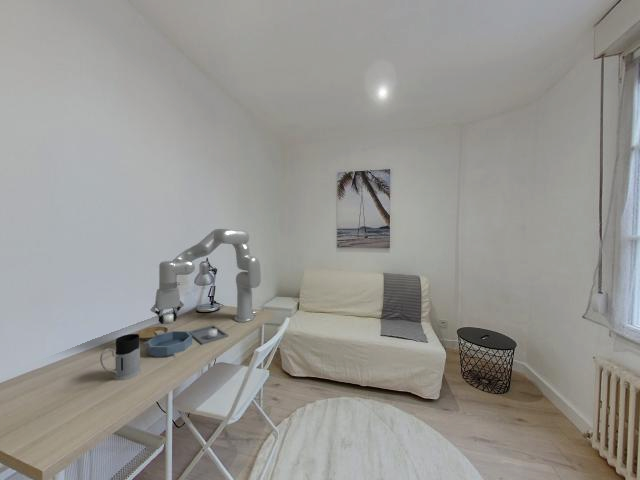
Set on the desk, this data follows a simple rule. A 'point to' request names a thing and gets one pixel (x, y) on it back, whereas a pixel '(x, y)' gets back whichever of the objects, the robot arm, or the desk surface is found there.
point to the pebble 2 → (211, 333)
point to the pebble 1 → (168, 318)
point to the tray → (202, 334)
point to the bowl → (169, 343)
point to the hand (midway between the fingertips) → (167, 321)
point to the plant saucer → (150, 332)
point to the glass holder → (126, 357)
